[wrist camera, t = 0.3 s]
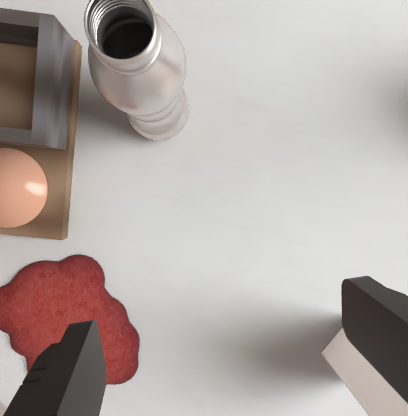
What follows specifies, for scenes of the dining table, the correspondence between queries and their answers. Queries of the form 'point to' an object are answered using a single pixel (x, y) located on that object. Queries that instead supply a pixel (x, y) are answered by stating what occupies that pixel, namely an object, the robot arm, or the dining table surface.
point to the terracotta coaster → (20, 188)
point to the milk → (363, 379)
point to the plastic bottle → (138, 65)
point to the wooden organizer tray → (40, 108)
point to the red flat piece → (67, 312)
